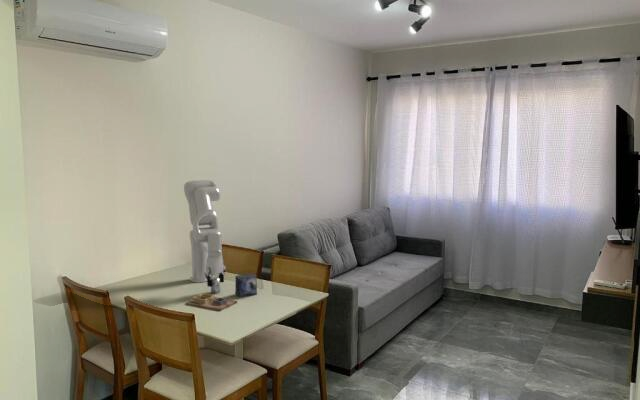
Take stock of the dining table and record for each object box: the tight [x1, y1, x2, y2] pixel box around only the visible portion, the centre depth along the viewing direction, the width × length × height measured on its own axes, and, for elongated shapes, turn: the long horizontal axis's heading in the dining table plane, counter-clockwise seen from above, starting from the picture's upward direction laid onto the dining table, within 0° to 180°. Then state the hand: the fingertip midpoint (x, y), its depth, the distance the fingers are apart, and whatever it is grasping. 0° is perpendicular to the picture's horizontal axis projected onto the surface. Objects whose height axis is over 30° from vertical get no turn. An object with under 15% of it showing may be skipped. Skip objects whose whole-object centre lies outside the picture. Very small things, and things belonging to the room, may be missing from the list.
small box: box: [234, 273, 258, 298], centre depth 264 cm, size 11×6×10 cm, turn 117°
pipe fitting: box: [210, 276, 221, 295], centre depth 268 cm, size 5×5×8 cm
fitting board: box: [185, 292, 238, 312], centre depth 249 cm, size 14×22×3 cm, turn 64°
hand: (215, 284), depth 267 cm, fingers open, 9 cm apart
